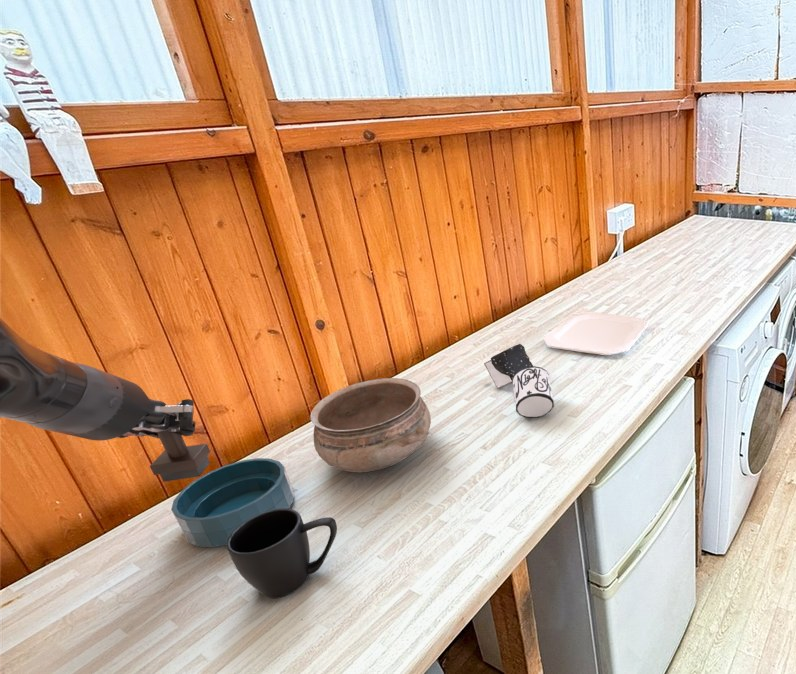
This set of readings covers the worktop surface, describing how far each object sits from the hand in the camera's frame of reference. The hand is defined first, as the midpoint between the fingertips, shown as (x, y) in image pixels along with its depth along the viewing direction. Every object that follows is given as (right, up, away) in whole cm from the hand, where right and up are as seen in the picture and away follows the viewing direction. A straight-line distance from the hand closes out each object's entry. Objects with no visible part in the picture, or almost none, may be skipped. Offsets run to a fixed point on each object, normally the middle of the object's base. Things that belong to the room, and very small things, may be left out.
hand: (179, 430), depth 75 cm
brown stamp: (+1, -6, +1) cm, 6 cm away
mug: (+19, -20, -2) cm, 28 cm away
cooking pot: (+18, -9, +22) cm, 30 cm away
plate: (+53, +13, +70) cm, 89 cm away
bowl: (+2, -15, +9) cm, 18 cm away
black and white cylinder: (+40, -1, +41) cm, 57 cm away
